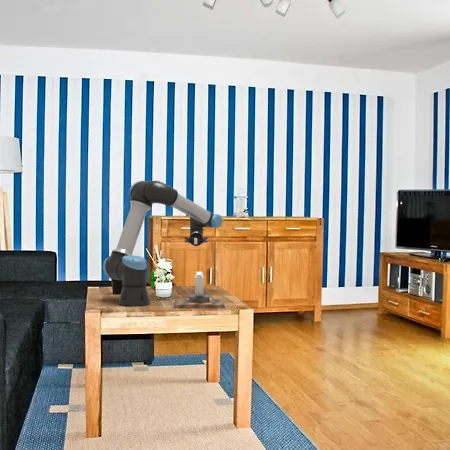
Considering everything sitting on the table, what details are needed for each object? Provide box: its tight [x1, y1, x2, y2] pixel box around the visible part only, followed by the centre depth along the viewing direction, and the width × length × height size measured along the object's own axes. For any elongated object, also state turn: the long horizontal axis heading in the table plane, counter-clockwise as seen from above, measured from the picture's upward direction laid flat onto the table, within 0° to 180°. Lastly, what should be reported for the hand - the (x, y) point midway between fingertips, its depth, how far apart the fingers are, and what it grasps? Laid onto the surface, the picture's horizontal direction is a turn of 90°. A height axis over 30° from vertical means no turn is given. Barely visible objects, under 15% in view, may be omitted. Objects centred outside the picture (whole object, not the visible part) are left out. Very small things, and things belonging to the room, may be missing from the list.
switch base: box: [173, 294, 225, 309], centre depth 308 cm, size 24×18×4 cm
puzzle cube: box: [150, 270, 174, 289], centre depth 367 cm, size 10×10×10 cm
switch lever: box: [194, 271, 204, 296], centre depth 304 cm, size 4×3×13 cm, turn 92°
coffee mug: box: [110, 278, 123, 295], centre depth 347 cm, size 12×9×10 cm
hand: (195, 241), depth 324 cm, fingers closed
